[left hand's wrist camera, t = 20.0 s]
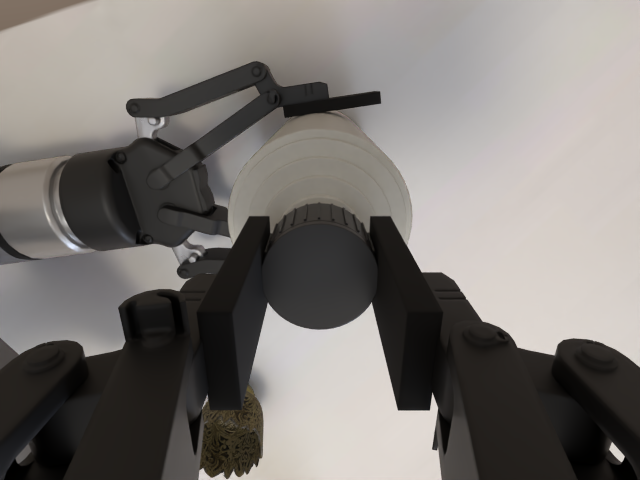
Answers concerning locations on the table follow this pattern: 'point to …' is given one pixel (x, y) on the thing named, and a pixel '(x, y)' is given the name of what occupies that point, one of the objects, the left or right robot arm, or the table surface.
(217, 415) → the cup
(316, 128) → the bottle
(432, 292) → the left robot arm
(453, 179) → the table surface
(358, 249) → the cap
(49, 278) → the table surface
